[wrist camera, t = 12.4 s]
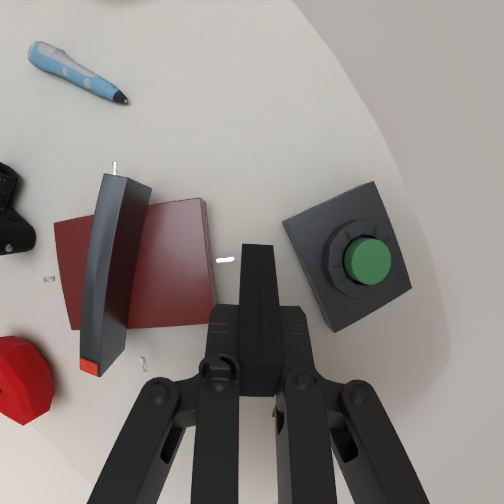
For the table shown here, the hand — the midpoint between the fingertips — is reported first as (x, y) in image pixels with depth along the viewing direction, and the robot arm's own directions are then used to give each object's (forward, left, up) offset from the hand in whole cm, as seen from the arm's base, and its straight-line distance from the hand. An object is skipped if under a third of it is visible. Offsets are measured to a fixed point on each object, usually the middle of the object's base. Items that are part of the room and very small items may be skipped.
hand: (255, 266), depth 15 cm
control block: (-9, -3, -11) cm, 15 cm away
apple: (+19, +25, -11) cm, 33 cm away
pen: (+27, -10, -11) cm, 31 cm away
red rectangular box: (+9, +6, -11) cm, 15 cm away
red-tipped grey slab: (+9, +6, -8) cm, 13 cm away
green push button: (-9, -3, -8) cm, 12 cm away
